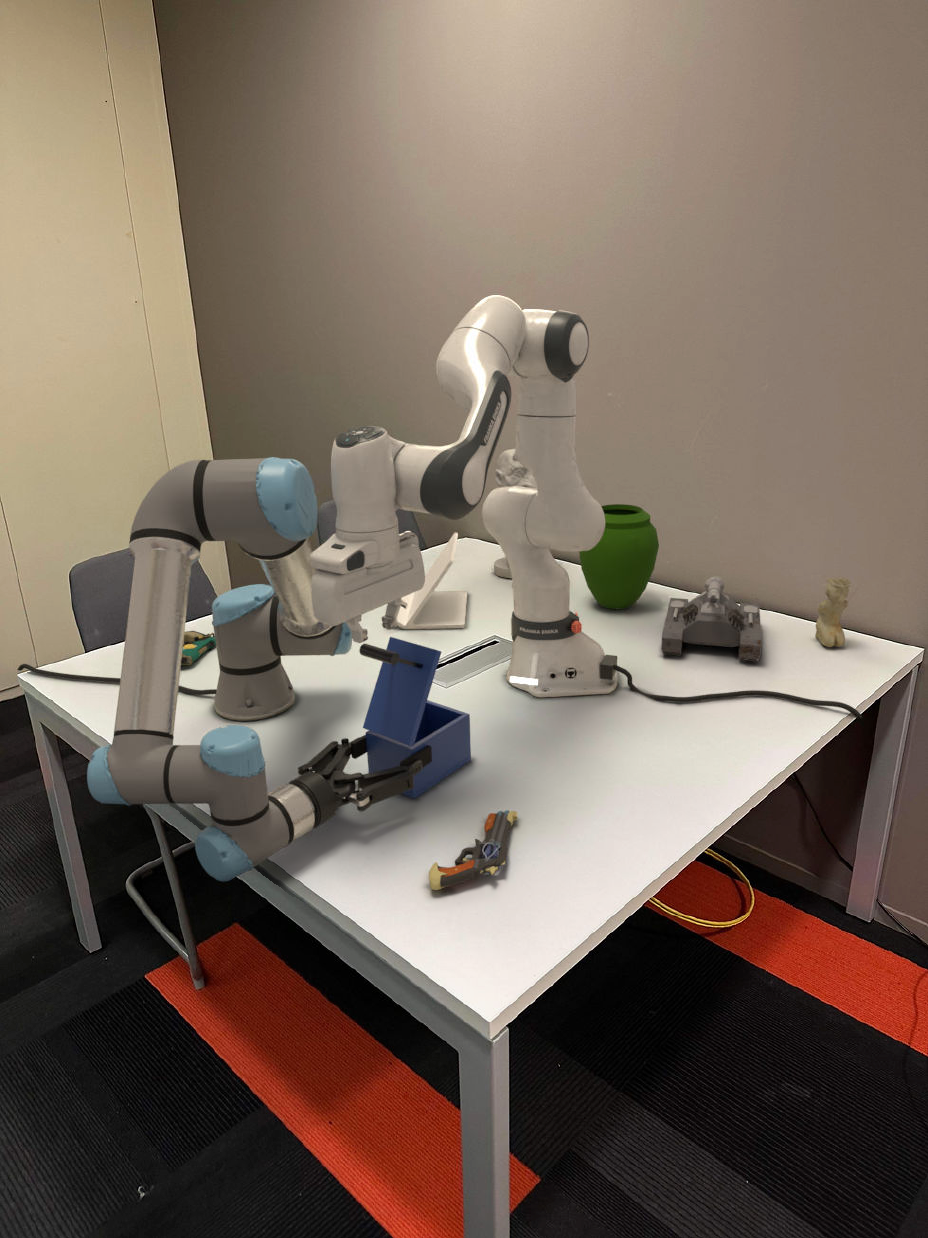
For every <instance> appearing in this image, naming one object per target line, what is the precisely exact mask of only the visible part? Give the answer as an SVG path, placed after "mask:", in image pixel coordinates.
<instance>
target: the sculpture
mask: <svg viewBox="0 0 928 1238" xmlns="http://www.w3.org/2000/svg"><path fill="white" fill-rule="evenodd" d="M826 581H827V586H826V588H825V590H824V593H825V595H826V596H827V598H826V600H824V601H822V602H821V603H820V604H819V605H818V606H817V609H816V610H817V612H818V614H819V616H818V617H817V619H816V623H815V630H816V631H815V634H814V635H815V639H817V640H819V642H820V643H821V644H822V645H823V646H825V647H827V648H832V647H834V646H835V647H843V646H844V645H845V643H846V642H845V641H846V636H845V632H844V630H843V626H842V624H841V622H840V621H841V617H842V615H843V612H844V610H845V609H846V608H847V606H848V604H849V603H848V602H849V601H847V598H848V597H849V592H850V586H851V585H852V582H850V580H848V579H847V578H845V577H841V576H840V577H835V578H831V577H827V578H826Z"/></svg>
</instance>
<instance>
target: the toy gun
mask: <svg viewBox="0 0 928 1238" xmlns="http://www.w3.org/2000/svg"><path fill="white" fill-rule="evenodd" d="M515 821H518V812H517V811H516V810H508V809H506V810H504V811H502V810H499V811H497V812H496V813H495V812H490V813H489V814H488V815H487V817H486V821H485V823H484V833H485V838H484V839H483V841H482V840H479V839H477V838H474V842H475V843H474V844H475V846H472V847H471V846H467V847H465V848H463V849H462V850H461V852H460V854H459V856H458V857H457V858H456V859H454V866H449V867H446V866H439V864H438V862H436V861H435V862H434V863H432V865H431V867H430V869H429V873H428V880H429V887H430V889H431V890H432V891H438V890H442V889H443V888H447V887H452V886H454V885H458V884H460V883H463V882H465V881H468V880H473V879H476V878H480V877H481V876H483V875H485V874H486V873H490V875H491V876H493V875H495V873H496V872H497V871H498V870H499V867H501V866H504V865H506V860H507V856H508V850H509V849H508V840H509V837H510V833H511V829H512V827H513V823H514V822H515ZM467 856H471V858H470V859H466V857H467ZM482 856H483V858H482Z"/></svg>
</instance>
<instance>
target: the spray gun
mask: <svg viewBox="0 0 928 1238" xmlns="http://www.w3.org/2000/svg"><path fill="white" fill-rule="evenodd" d="M187 642H188V643H187ZM185 643H187V644H185ZM215 646H216V641H215V634H214V632H211V633H207V634H206V633H202V632H199V631H195V630H187V631H184V641H183V650H182V659H181V666H182V665H183V666H191V665H192V664H193V663H194V662H195V661H196V660H198V659H199V658H200V656H201V655H203V654H204V653H206V652H207V651H208V650H210V649H211V648H213V647H215Z"/></svg>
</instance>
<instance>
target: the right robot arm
mask: <svg viewBox="0 0 928 1238" xmlns="http://www.w3.org/2000/svg"><path fill="white" fill-rule="evenodd" d="M589 347H590V336H589V330H588V326H587V325H586V323H585V321H584V320H583V319H582V316H580V315H579V314H577V313H575V312H572V311H567V310H561V309H559V310H556V311H554V310H548V309H547V310H546V309H535V308H534V309H532V308H531V309H528V308H527V309H523V310H522V308H521V307H520V305H519V304H517V303H516V302H515V301H514V300H512V299H511V298H509V297H507V296H503V295H497V294H496V295H495V294H494V295H488V296H487V297H486V296H485V297H484V298H482V299H480V300H479V302H477V303H476V304H475V305H474V306H473V307H472V308H471V309H470V310H469V311H468V312H466V314H465V315H464V316H463V317H462V319H461V320H460V321H459V322H458V323H457V325H455V328H454V329H453V331H452V332H451V333H450V334H449V336H448V338H447V339H446V341H445V342H444V343H443V345H442V347H441V349H440V350H439V354H438V355H437V359H436V362H435V373H436V378H437V381H438V383H439V385H440V388H441V390H442V391H443V392H444V394H445V395H446V396H447V397H448V399H450V400H451V401H452V402H453V403H454V404H455V405H457V406H458V407H460V408H462V409H464V410H467V411H469V413H468V416H467V417H466V421H465V423H464V426H463V428H462V431H461V433H460V436H459V437H458V440H456V441H455V442H453V443H450V444H447V445H441V446H437V445H427V444H426V445H424V444H417V443H407V442H405V441H401V440H398V439H396V438H393V437H392V436H390V435H389V434H388V431H387V429H385V428H384V427H381V426H377V425H361V426H357V427H351V428H349V429H346V430H344V431H342V432H341V433H339V434H338V435H337V436H336V437H335V438H334V440H333V443H332V448H331V457H330V481H331V492H332V498H333V501H334V504H335V507H336V518H335V533H333V534H332V535H331V536H330V537H329V538H328V539H327V540H326V541H325V542H324V543H322V544H321V545H320V546H318V547H317V548H316V549H315V550H313V552H312V553H311V555H310V564H311V566H312V567H314V568H317V570H316V571H315V572H314V574H313V576H312V580H311V595H312V607H313V614H314V617H315V618H316V619H317V620H318V621H319V622H321V623H324V624H327V625H331V626H336V625H338V624H341V623H343V622H345V623H346V624H347V625H348V627H349V628H350V629H351V630H352V642H354V643H356V644H363V643H365V642H366V641H368V640H369V636H368V635H369V634H368V629H367V628H363V627H362V625H361V624H360V622H362V615H364V614H367V613H369V612H371V611H374V610H376V609H378V608H380V607H383V606H385V605H386V610H385V614H384V615H382V616H381V622H382V623H381V626H382V628H383V629H386V630H391V629H395V628H396V627H397V615H398V612H399V610H400V607H401V606H402V605H403V604H402V602H401V598H402V597H404V596H407V595H409V594H411V593H414V592H416V591H418V590H421V589H422V588H423V586H424V583H425V576H426V572H425V566H424V559H423V555H422V551H421V549H420V545H419V542H420V541H419V538H418V536H417V535H416V534H415V533H414V532H412V531H411V530H405V531H403V532H401V533H400V532H399V519H398V516H397V514H396V511H397V510H403V511H406V512H407V511H408V512H415V513H422V514H430V515H433V516H436V517H439V518H444V519H448V520H452V521H458V520H461V519H463V518H465V517H466V516H467V515H469V514H470V513H472V511H474V510H475V509H476V508H477V506H478V505H479V504H480V502H481V501H482V499H483V495H484V492H485V488H486V482H487V477H488V472H489V467H490V465H491V462H492V459H493V457H494V454H495V451H496V448H497V445H498V442H499V440H500V437H501V434H502V432H503V429H504V426H505V423H506V420H507V417H508V414H509V410H510V407H511V403H512V386H511V383H510V380H509V378H508V377H511V378H512V377H513V378H520V379H519V382H518V383H519V384H518V390H517V397H516V413H515V416H516V417H515V442H514V443H515V444H514V449H515V453H516V456H517V459H518V460H519V462H520V463H521V464H522V465H523V466H524V467H526V468H527V469H528V470H529V471H530V472H531V474H532V476H533V478H534V480H535V482H536V486H537V488H530V487H522V486H510V487H502V486H500V487H496V488H494V489H493V490H491V491H490V492H489V493H488V495H487V496H486V497H485V499H484V501H483V504H482V509H481V520H482V524H483V526H484V528H485V530H486V531H487V532H488V534H490V535H491V536H492V537H493V539H494V540H495V541H496V542H497V544H498V545H499V547H500V548H501V551H502V552H503V554H504V558H505V557H506V559H507V561H508V564H509V567H510V571H511V575H512V578H511V580H512V581H511V582H512V594H513V596H512V597H513V611H512V612H511V618H510V635H511V640H512V645H511V646H512V647H511V655H510V660H509V665H508V669H507V672H506V675H505V678H506V681H507V683H509V684H510V685H511V686H513V687H515V688H517V689H519V690H522V691H525V692H527V693H529V694H530V695H531V696H533V697H535V698H556V697H572V696H573V697H574V696H588V695H589V696H590V695H591V696H592V695H607V694H611V693H612V692H613V691H615V690H616V688H617V686H618V673H620V674H622V675H624V676H625V677H626V678H627V679H626V680H627V681H626V682H627V683H626V684H627V686H628V688H629V689H630V690H631V691H632V692H634V693H637V694H640V695H642V696H644V697H646V698H649V699H650V700H651V699H652V700H654V701H655V700H656V701H663V702H673V703H692V702H698V701H699V702H700V701H706V700H717V699H729V698H737V697H747V696H748V697H750V696H762V697H772V698H779V699H783V700H787V701H792V702H796V703H800V704H805V705H811V706H817V707H818V706H821V707H833V708H840V709H844V710H846V711H847V712H849V713H851V714H852V715H853V716H854V717H855V718H857V719H863V715H862V713H860V712H859V710H857V709H856V708H854V707H853V706H851V705H850V704H848V703H845V702H841V701H834V700H819V699H810V698H806V697H802V696H797V695H793V694H788V693H783V692H779V691H772V690H771V691H770V690H760V689H759V690H756V689H755V690H754V689H752V690H749V689H748V690H737V691H729V692H719V693H707V694H701V695H692V696H671V695H661V694H660V695H659V694H651V693H646V692H644V691H642V690H641V689H639V688H638V687H636V686H635V684H634V683H633V675H632V674H631V672H629V671H628V670H627V669H626V668H625V667H621V666H619V665H618V655H614V654H613V655H612V654H605V651H604V648H603V647H602V645H601V644H600V643H599V642H598V641H596V640H595V639H593V638H591V637H590V636H589V635H587V634H586V633H585V632H583V631H582V630H583V626H582V625H583V624H582V622H581V621H580V616H579V615H578V612H577V611H575V613H574V612H573V611H571V610H570V590H571V589H570V586H571V585H570V584H571V581H570V576H569V574H568V572H567V571H566V569H565V568H564V567H563V566H562V565H561V564H560V563H559V562H558V561H557V560H556V558H554V556H553V554H552V553H551V550H554V551H559V552H567V553H570V552H572V553H573V552H579V551H588V550H591V549H592V548H593V547H595V546H596V545H597V543H598V542H599V541H600V539H601V538H602V536H603V533H604V530H605V515H604V512H603V509H602V507H601V506H602V505H601V504H600V502H599V501H597V499H595V498H594V496H593V495H592V494H591V493H590V492H589V489H588V488H587V487H586V485H585V482H584V481H583V479H582V476H581V473H580V471H579V470H580V469H579V467H578V461H577V454H576V429H577V384H576V376H575V375H576V374H577V373H578V372H579V371H580V369H581V368H582V367H583V365H584V363H585V362H586V360H587V357H588V353H589ZM617 672H618V673H617Z"/></svg>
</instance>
